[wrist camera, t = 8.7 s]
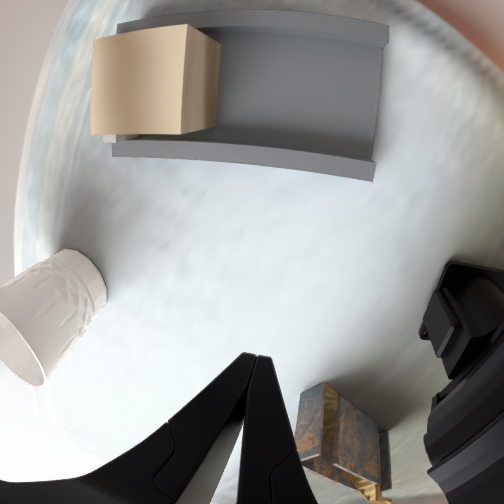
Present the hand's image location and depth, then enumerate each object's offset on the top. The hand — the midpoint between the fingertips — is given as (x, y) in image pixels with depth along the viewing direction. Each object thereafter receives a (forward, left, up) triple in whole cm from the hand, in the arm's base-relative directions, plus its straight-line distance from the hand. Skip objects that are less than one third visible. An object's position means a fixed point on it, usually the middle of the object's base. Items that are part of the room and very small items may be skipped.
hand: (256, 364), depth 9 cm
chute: (+3, -8, -12) cm, 15 cm away
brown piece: (-8, +18, -13) cm, 24 cm away
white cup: (+18, +8, -12) cm, 23 cm away
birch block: (+7, -8, -11) cm, 16 cm away
